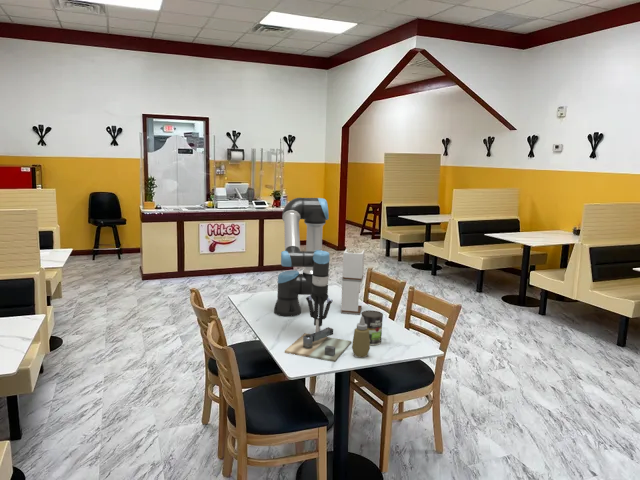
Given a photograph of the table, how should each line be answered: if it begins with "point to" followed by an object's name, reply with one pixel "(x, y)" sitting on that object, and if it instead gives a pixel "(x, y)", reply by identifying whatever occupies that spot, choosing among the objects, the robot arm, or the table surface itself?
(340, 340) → the plate
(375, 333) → the coffee can
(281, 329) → the table surface
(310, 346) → the latch bar
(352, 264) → the white square tower
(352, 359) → the table surface
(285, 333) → the table surface
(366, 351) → the squeeze bottle
